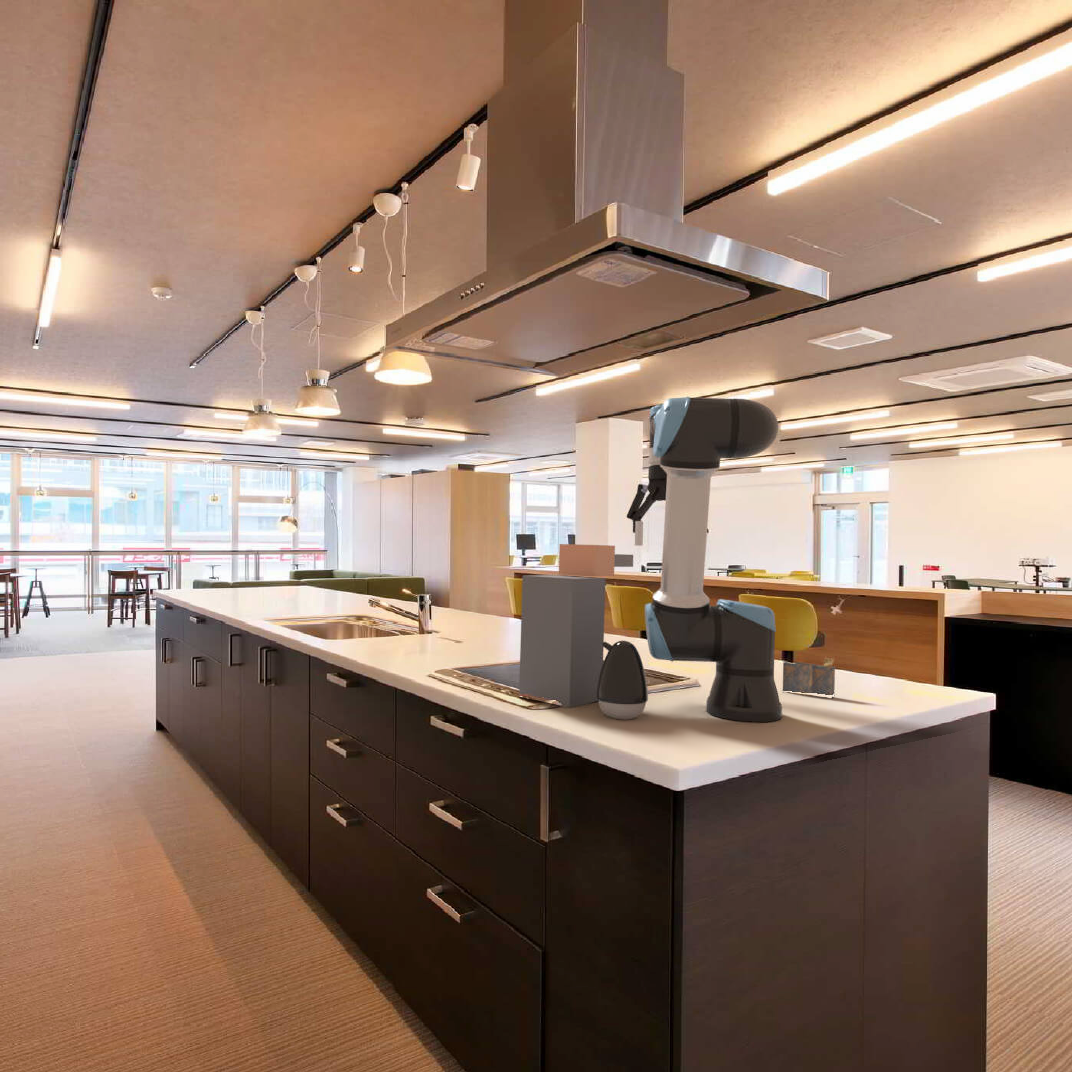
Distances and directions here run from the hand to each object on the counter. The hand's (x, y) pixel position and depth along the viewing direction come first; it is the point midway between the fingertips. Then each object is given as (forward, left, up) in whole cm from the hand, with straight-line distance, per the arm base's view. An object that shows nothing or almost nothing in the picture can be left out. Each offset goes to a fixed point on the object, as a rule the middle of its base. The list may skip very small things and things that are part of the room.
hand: (660, 546), depth 191 cm
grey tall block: (-15, +36, -35) cm, 52 cm away
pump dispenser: (-34, +32, -35) cm, 58 cm away
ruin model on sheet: (-28, -24, -35) cm, 51 cm away
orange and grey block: (-9, +22, -7) cm, 25 cm away
